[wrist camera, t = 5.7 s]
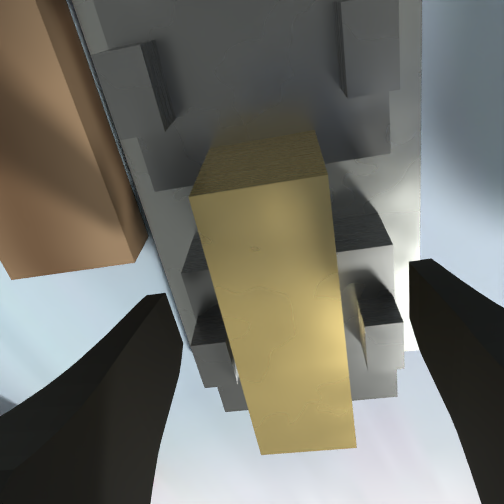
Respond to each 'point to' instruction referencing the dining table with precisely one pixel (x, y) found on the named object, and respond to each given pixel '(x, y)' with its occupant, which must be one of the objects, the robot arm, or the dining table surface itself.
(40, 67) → the block
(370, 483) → the dining table surface
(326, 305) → the link bar
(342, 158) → the grey stepped metal block
